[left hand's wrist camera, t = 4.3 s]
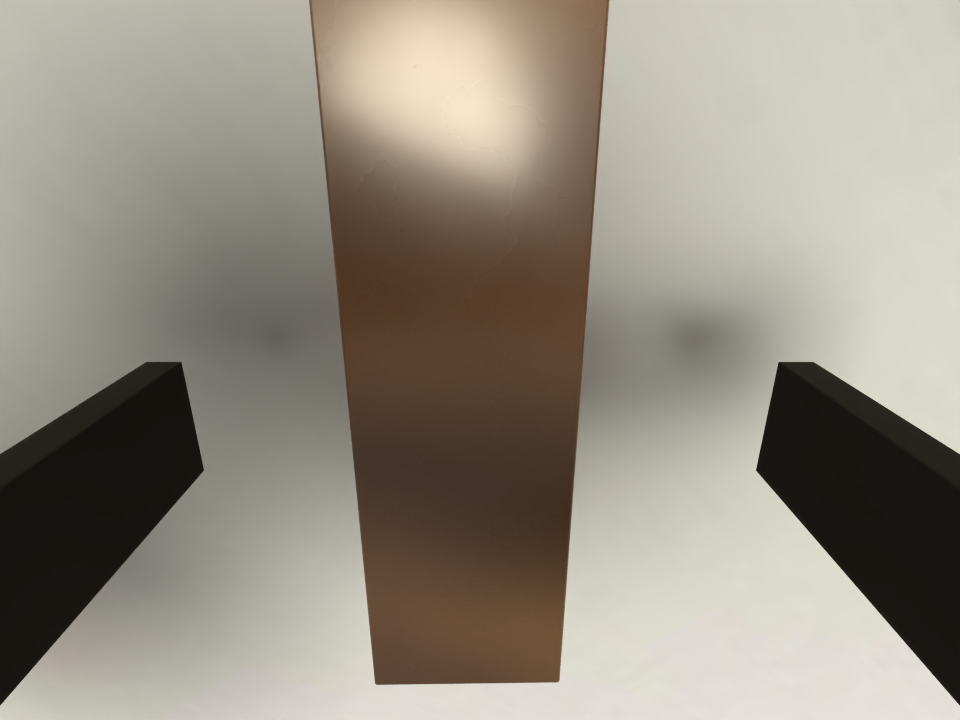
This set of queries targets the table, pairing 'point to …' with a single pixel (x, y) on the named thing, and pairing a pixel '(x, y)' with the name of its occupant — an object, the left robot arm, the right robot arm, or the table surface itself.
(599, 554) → the table surface
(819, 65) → the table surface
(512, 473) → the bar
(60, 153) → the table surface
